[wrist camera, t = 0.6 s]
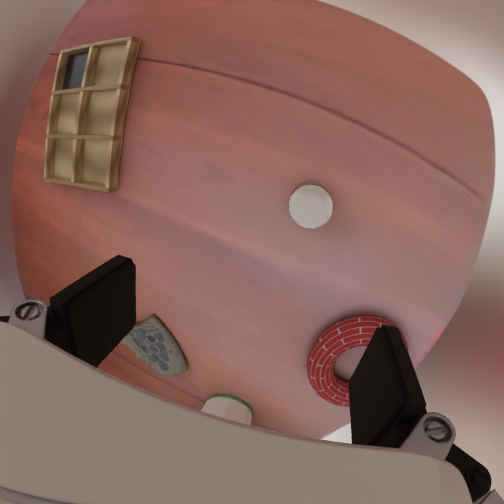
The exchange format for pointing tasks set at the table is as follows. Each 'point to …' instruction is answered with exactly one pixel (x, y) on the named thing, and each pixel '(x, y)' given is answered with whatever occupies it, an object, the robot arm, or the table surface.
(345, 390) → the torus
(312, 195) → the grey squat cylinder
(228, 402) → the cup
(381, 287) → the table surface
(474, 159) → the table surface
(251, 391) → the table surface
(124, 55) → the compartment tray
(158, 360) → the ceramic fragment
